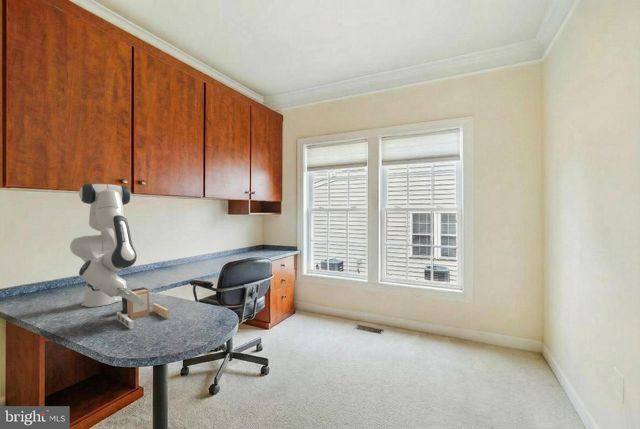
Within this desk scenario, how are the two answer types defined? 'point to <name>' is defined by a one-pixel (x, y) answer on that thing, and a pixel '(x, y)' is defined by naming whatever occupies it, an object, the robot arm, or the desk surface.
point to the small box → (124, 301)
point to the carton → (137, 309)
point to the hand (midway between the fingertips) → (139, 302)
